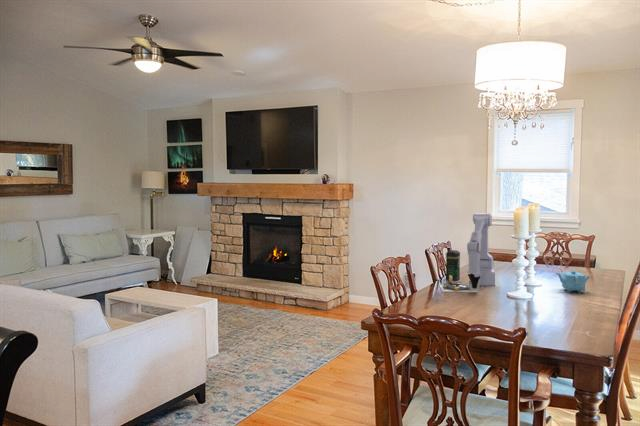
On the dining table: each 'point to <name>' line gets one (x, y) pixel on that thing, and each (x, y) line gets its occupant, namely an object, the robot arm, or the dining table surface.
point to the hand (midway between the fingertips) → (473, 287)
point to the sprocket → (455, 285)
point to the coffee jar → (453, 265)
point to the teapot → (573, 281)
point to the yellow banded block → (473, 288)
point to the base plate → (454, 290)
